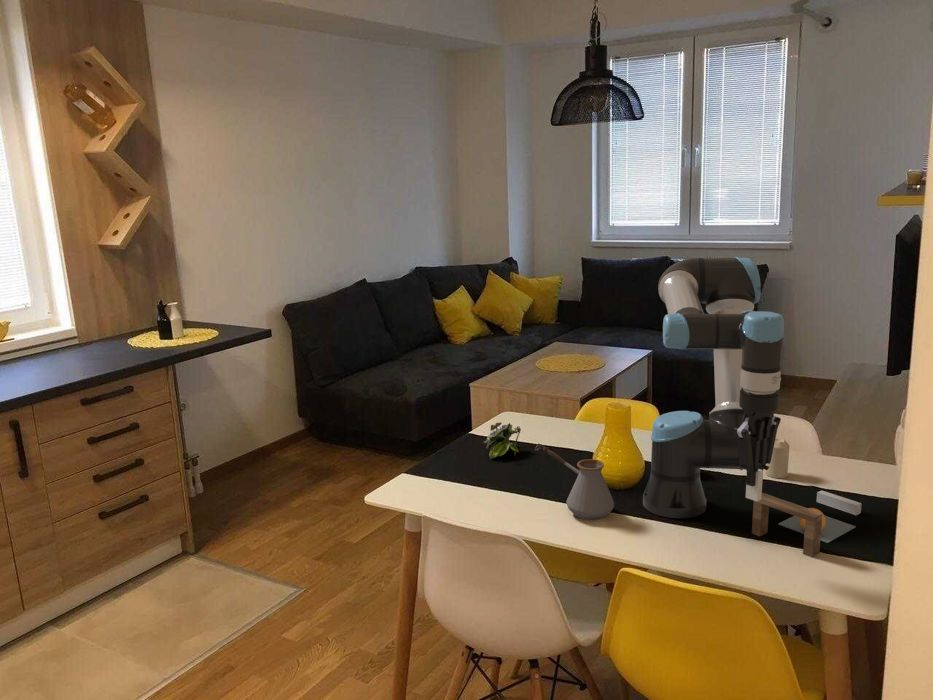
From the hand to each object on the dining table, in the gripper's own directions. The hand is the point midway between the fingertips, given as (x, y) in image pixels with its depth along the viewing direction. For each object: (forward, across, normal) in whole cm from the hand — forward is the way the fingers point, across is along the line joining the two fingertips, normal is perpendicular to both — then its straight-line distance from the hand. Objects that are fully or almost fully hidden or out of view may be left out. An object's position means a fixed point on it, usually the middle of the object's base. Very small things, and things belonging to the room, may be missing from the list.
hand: (753, 498), depth 164 cm
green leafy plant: (+15, +1, +83) cm, 84 cm away
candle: (+15, +46, +23) cm, 53 cm away
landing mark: (+14, +26, 0) cm, 30 cm away
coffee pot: (+15, -10, +43) cm, 47 cm away
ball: (+12, +22, -1) cm, 25 cm away
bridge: (+14, +13, 0) cm, 19 cm away
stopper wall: (+14, +39, +2) cm, 42 cm away
